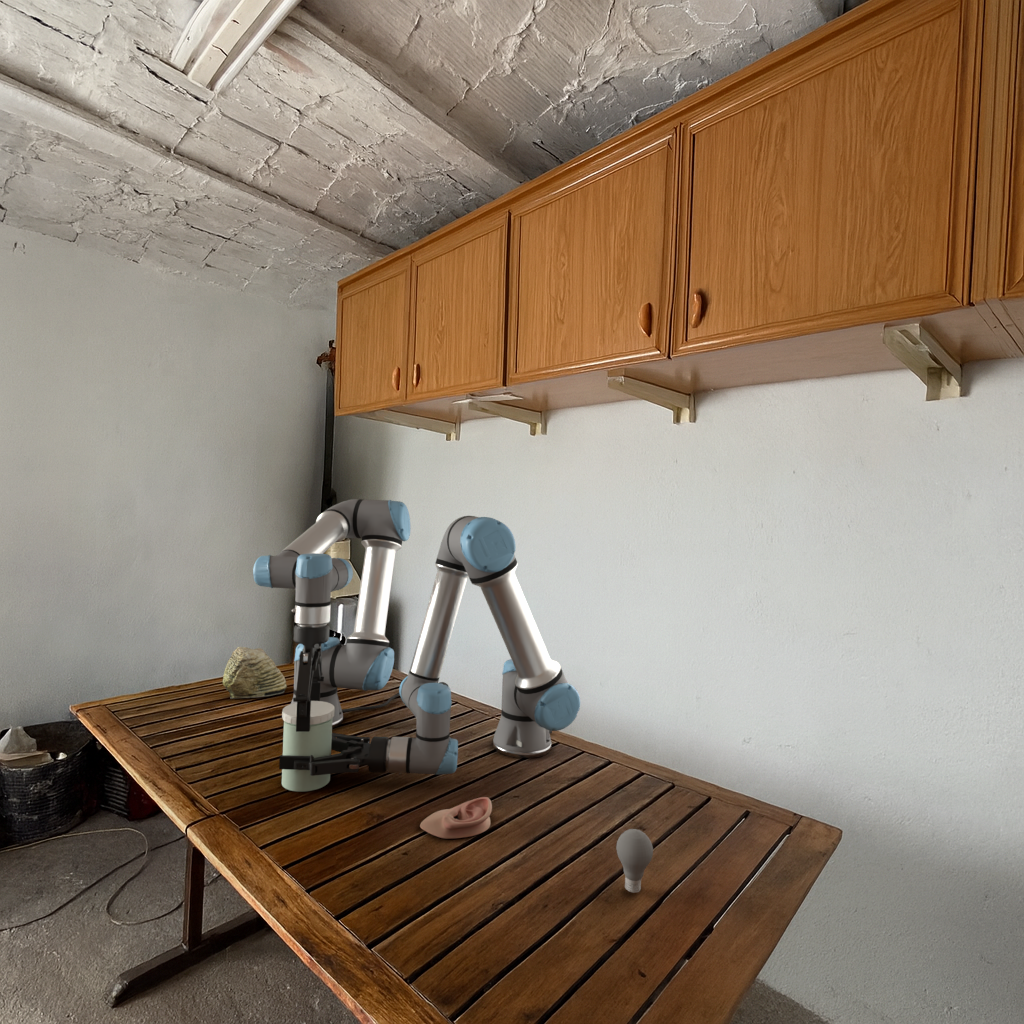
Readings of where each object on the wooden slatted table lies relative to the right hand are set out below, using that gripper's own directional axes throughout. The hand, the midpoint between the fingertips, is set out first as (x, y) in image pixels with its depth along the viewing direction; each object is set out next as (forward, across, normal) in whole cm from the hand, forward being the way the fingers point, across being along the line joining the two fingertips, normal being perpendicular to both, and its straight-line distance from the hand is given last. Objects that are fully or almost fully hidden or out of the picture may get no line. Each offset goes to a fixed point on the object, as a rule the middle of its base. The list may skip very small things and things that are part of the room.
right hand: (288, 751), depth 140 cm
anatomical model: (-38, -18, -6) cm, 43 cm away
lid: (-4, 0, +10) cm, 10 cm away
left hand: (-4, 0, +7) cm, 8 cm away
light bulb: (-69, -38, -6) cm, 79 cm away
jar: (-4, 0, -6) cm, 8 cm away
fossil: (+28, +59, -6) cm, 65 cm away
